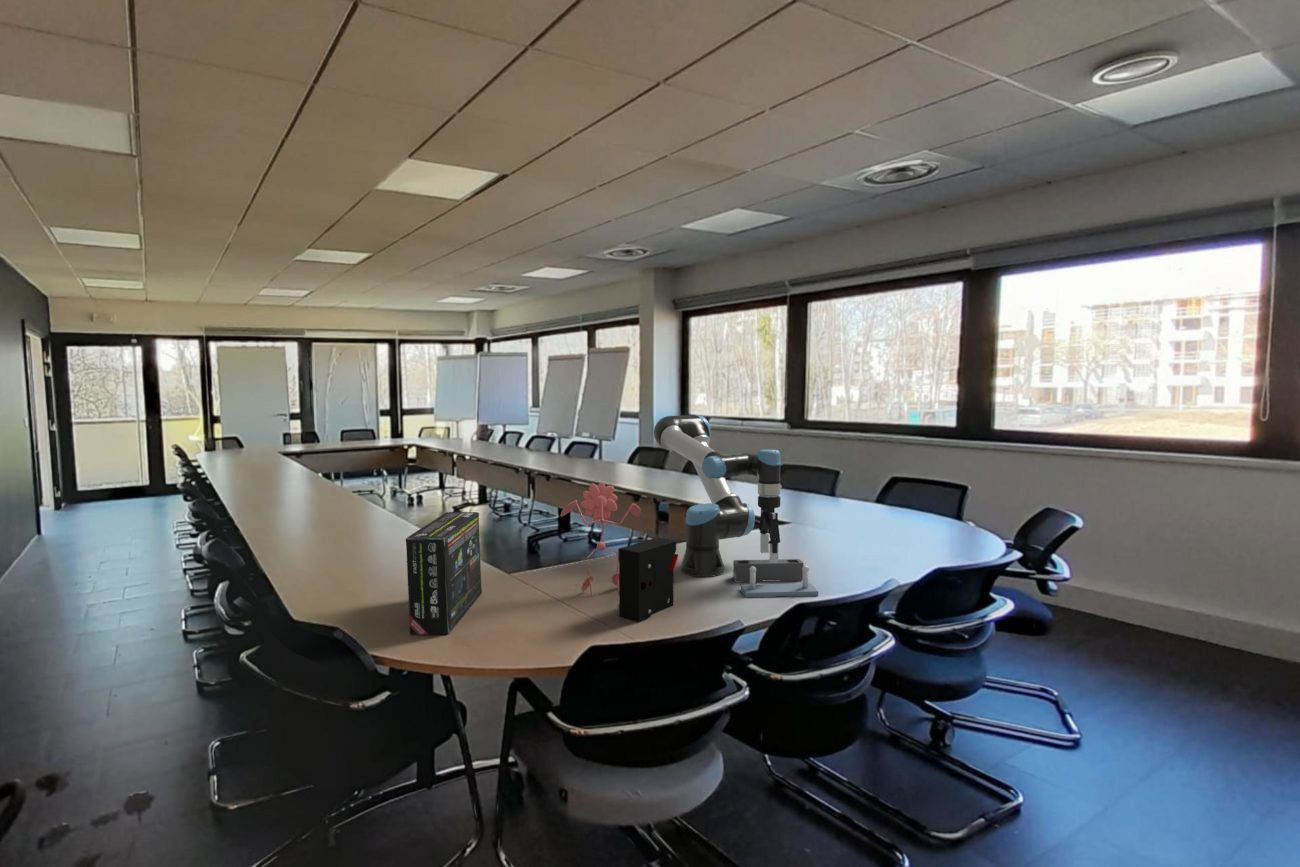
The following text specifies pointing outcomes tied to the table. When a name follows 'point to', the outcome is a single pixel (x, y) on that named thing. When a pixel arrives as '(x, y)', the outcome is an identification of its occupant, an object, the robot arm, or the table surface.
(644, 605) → the electrical component
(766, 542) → the robot arm
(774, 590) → the mounting plate
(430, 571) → the router box
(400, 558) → the table surface
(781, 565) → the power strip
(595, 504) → the pink flower figurine
